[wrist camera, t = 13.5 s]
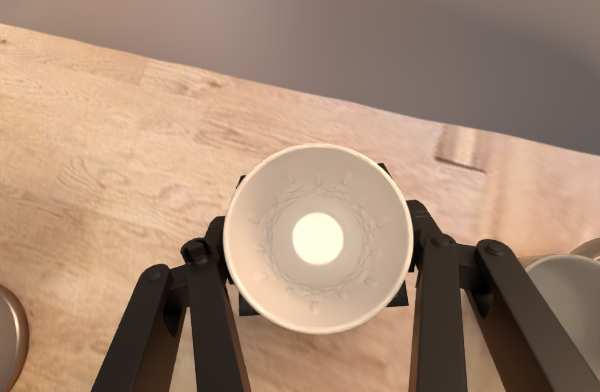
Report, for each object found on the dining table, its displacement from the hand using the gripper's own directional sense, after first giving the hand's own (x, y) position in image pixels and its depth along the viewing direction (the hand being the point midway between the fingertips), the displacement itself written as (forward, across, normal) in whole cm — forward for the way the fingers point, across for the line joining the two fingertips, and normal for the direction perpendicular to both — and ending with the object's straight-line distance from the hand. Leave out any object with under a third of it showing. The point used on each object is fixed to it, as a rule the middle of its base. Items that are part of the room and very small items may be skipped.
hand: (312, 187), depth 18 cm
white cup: (0, 0, -5) cm, 5 cm away
